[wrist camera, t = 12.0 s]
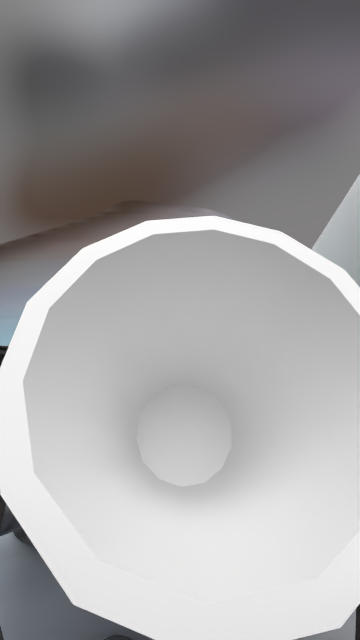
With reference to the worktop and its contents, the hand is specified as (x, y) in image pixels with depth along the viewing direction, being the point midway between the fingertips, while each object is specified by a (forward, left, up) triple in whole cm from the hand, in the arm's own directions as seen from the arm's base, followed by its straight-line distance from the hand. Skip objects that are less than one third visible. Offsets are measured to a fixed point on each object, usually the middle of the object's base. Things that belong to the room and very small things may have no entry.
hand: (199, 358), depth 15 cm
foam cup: (0, -3, -5) cm, 6 cm away
